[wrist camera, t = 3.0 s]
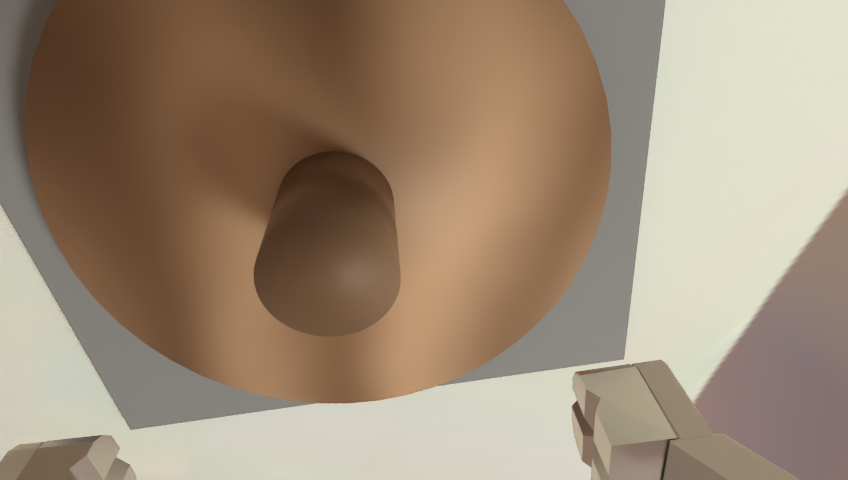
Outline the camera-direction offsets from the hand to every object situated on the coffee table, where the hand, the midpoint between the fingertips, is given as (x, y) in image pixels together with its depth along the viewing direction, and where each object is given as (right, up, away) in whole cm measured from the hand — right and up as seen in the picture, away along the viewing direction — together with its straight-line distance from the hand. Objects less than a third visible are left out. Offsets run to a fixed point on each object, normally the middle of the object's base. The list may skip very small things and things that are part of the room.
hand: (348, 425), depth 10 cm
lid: (-1, +5, +8) cm, 9 cm away
